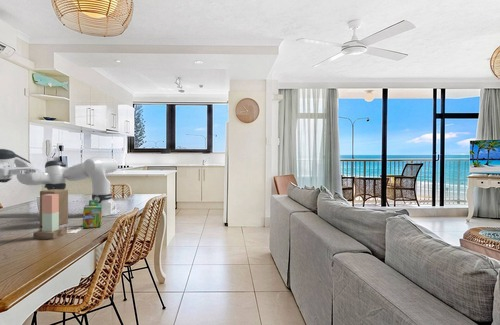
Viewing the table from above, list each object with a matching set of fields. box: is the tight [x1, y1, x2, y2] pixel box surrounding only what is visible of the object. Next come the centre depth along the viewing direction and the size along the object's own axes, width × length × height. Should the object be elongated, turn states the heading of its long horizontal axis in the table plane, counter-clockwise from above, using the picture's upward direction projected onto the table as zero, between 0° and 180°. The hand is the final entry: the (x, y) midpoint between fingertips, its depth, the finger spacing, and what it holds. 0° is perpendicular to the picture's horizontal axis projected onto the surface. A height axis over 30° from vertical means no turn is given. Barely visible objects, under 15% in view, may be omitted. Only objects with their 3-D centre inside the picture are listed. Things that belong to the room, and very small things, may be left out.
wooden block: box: [39, 189, 69, 227], centre depth 175 cm, size 10×10×20 cm
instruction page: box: [66, 226, 84, 234], centre depth 162 cm, size 12×9×1 cm
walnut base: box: [32, 227, 68, 240], centre depth 150 cm, size 10×10×3 cm
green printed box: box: [82, 199, 103, 229], centre depth 172 cm, size 9×9×15 cm
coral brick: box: [42, 194, 59, 214], centre depth 150 cm, size 5×5×9 cm
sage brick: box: [41, 212, 60, 232], centre depth 150 cm, size 5×5×9 cm
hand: (28, 171), depth 156 cm, fingers open, 8 cm apart
